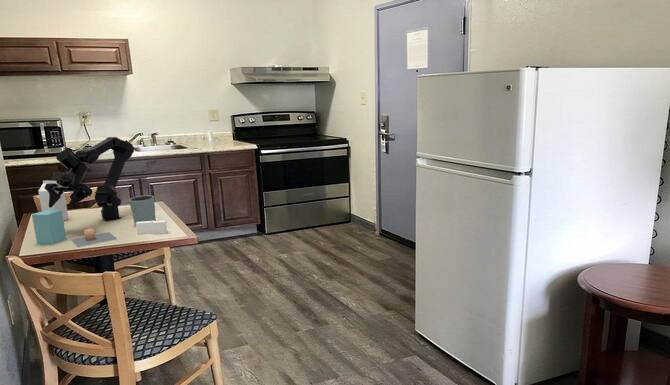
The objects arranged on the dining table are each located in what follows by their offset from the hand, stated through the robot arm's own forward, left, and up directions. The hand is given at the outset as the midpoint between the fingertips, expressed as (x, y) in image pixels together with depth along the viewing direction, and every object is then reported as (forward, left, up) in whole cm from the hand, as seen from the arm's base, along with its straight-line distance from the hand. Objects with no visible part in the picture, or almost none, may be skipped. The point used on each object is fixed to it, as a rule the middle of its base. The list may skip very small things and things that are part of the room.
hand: (59, 207), depth 185 cm
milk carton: (-2, -32, -13) cm, 35 cm away
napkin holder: (-28, +22, -13) cm, 38 cm away
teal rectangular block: (+5, +4, -12) cm, 14 cm away
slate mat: (-8, +14, -12) cm, 20 cm away
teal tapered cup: (-30, +6, -13) cm, 33 cm away
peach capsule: (-7, +13, -12) cm, 19 cm away
